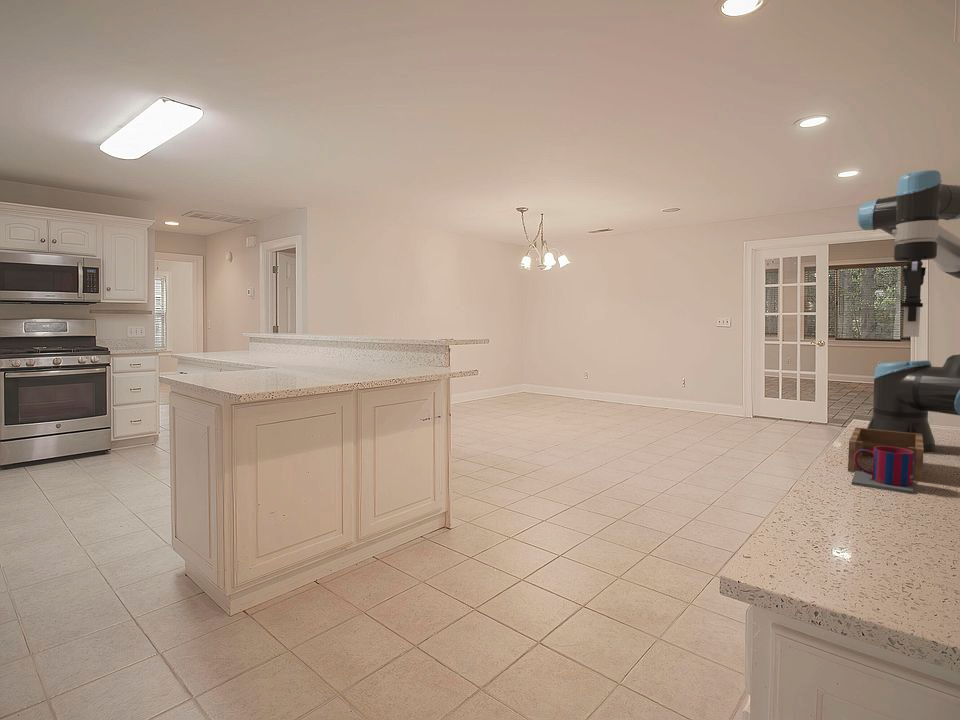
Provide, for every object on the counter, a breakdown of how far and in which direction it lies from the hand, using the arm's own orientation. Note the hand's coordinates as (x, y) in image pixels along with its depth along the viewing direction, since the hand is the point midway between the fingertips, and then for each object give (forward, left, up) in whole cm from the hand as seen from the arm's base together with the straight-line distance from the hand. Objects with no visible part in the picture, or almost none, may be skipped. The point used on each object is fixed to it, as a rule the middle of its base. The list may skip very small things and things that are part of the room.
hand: (910, 335), depth 121 cm
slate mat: (+19, +3, -31) cm, 36 cm away
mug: (+19, +3, -30) cm, 36 cm away
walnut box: (+4, -2, -31) cm, 31 cm away
